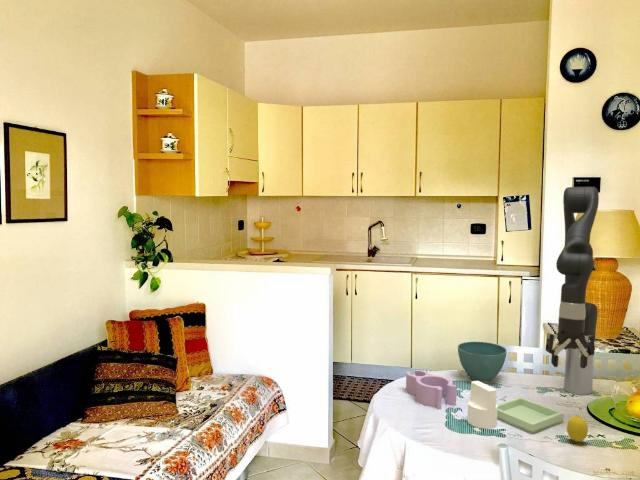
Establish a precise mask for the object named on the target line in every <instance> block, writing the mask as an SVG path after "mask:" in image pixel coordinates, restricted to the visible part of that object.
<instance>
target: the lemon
mask: <svg viewBox="0 0 640 480" xmlns="http://www.w3.org/2000/svg"><path fill="white" fill-rule="evenodd" d="M587 424H588V423H587V422H586V420H585V419H584V418H582V417H580V415H576V416H574V415H573V416H572V417H570V418H569V420H568V421H567V424H566V432H567V435H568V437H569V438H570V439H571V440H573V442H575V443H579V442H581V441H583V440H585V439H586V438H587V436H588V433H589V432H588V431H589V430H588V428H589V427H588V425H587Z"/></svg>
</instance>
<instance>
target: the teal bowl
mask: <svg viewBox="0 0 640 480" xmlns="http://www.w3.org/2000/svg"><path fill="white" fill-rule="evenodd" d="M507 351H508V350H507V348H506V347H504V346H502V345H501V344H497V343H492V342H487V341H486V342H485V341H467V342H466V341H465V342H462V343H459V344H458V345H457V352H458V353H457V354H458V357H459V362H460V364H461V366H462V369H463V370H464V372H465V373H466V374H467V376H468V378H469V379H471V380H473V381H480V382H482V383H489V382H492V381H493V380H494V379H495V378H496V377H497V376H498V375H499V373H500V372H501V370H503V369H502V368H503V366H504V364H505V362H506V358H507V353H508V352H507Z"/></svg>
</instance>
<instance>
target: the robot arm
mask: <svg viewBox="0 0 640 480" xmlns="http://www.w3.org/2000/svg"><path fill="white" fill-rule="evenodd" d="M599 196H600V195H599V190H598V188H596V186H571V187H566V188H565V189H564V192H563V199H562V200H563V218H564V247H563V249H562V250H561V252H560V253H559V255H558V257H557V259H556V265H555V266H556V270H557V271H558V273H560V275H562V276H564V283H563V284H561V291H560V304H559V307H558V308H559V309H558V322H557V323H558V324H557V326H558V327H557V331H558V332H557V333H556V334H555V333H551V332H548V333H547V334H546V335H547V336H546V343H545V351H546V352H547V353H549V354H551V359H550V360H551V361H550V362H551V365H552V366H553V367H554V368H558V367H559V354H560V352H562V351H563V350H564V349H565V359H564V360H565V363H564V379H563V380H564V381H563V382H564V383H563V390H564V391H566V392H568V393H571V394H573V395H580V396H584V395H585V396H586V395H591V394H592V391H593V384H594V383H593V382H594V356H595V340H596V332H597V331H596V330H597V323H598V315H599V314H598V307H597V305H596V304H595V303H593V302H587V301H586V293H587V287H588V283H589V280H590V277H591V275H592V272H593V271H594V267H595V261H594V251H593V250H594V249H593V247H592V245H591V234H592V229H593V226H594V223H595V219H596V216H597V212H598V208H599V199H600V197H599ZM575 214H582V215H581V216H580V217H579V218H578V219H577V220H576V217H575ZM556 339H557V343H556V344H554V342H555V340H556Z"/></svg>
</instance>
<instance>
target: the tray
mask: <svg viewBox="0 0 640 480" xmlns="http://www.w3.org/2000/svg"><path fill="white" fill-rule="evenodd" d="M496 404H497V403H496ZM497 405H498V412H497V421H501V422H503V423H505V424H507V425H509V426H512V427H515V428H516V429H519V430H522V431H524V432H527V434H530V435H534V434H537V433H540V432H542V431H544V430H547V429H549V428H552V427H554V426H556V425H560V424H562V423H564V412H562V411H559V410H558V409H553V408H551V407H548V406H545V405H543V404H541V403H538V402H535V401H532V400H529V399H527V398H524V397H522V396H518V397H516V398H513V399H510V400H506V401H503V402H501V403H498V404H497Z"/></svg>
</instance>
